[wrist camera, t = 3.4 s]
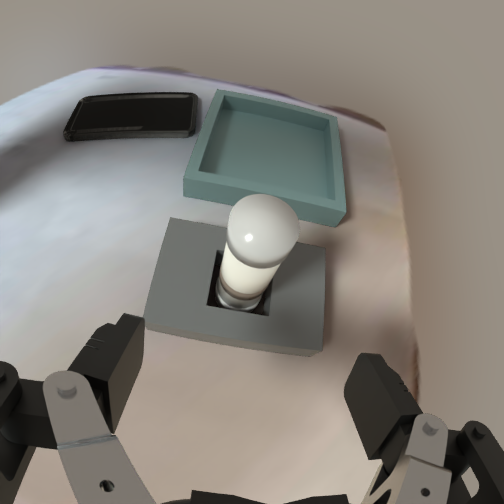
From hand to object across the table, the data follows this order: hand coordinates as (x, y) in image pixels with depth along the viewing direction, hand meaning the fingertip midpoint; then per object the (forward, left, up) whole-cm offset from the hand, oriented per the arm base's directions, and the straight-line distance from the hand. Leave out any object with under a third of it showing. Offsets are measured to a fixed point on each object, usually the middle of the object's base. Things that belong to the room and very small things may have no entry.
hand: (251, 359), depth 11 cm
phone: (-15, +25, -12) cm, 31 cm away
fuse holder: (0, +7, -11) cm, 13 cm away
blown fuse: (0, +7, -11) cm, 13 cm away
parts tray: (+1, +22, -11) cm, 24 cm away
